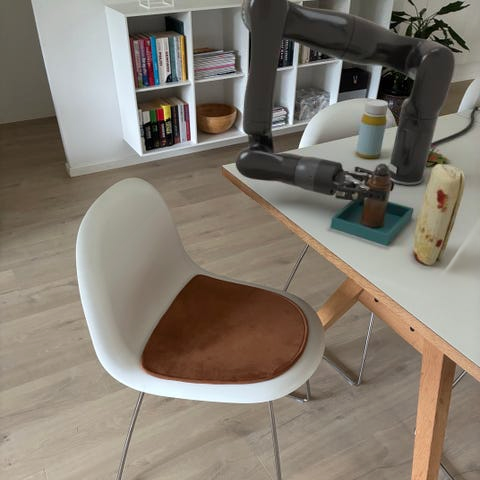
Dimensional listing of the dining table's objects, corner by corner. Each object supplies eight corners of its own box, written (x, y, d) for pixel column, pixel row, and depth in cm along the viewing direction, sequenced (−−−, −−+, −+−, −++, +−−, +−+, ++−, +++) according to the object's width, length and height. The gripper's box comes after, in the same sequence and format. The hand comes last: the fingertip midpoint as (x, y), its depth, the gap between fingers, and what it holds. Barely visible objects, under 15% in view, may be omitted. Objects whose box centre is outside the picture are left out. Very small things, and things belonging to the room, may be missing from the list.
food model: (404, 245, 114) (427, 157, 102) (435, 247, 114) (461, 158, 101) (412, 270, 107) (437, 177, 94) (445, 272, 106) (474, 179, 94)
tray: (357, 204, 130) (360, 193, 128) (411, 220, 124) (414, 208, 122) (329, 230, 119) (331, 217, 117) (386, 248, 114) (389, 235, 112)
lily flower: (458, 164, 151) (463, 148, 148) (427, 171, 147) (431, 155, 144) (428, 150, 159) (432, 135, 156) (398, 156, 155) (401, 141, 152)
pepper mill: (365, 214, 124) (376, 157, 115) (387, 221, 122) (400, 163, 113) (355, 224, 120) (366, 165, 112) (378, 231, 118) (390, 171, 109)
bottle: (379, 160, 152) (390, 107, 143) (355, 158, 153) (364, 105, 144) (379, 151, 157) (389, 99, 148) (356, 149, 158) (364, 98, 149)
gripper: (308, 170, 114) (384, 187, 108) (331, 149, 124) (402, 164, 118) (304, 202, 118) (377, 220, 112) (327, 179, 128) (395, 195, 122)
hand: (389, 191), depth 115 cm, fingers closed on pepper mill, 5 cm apart
